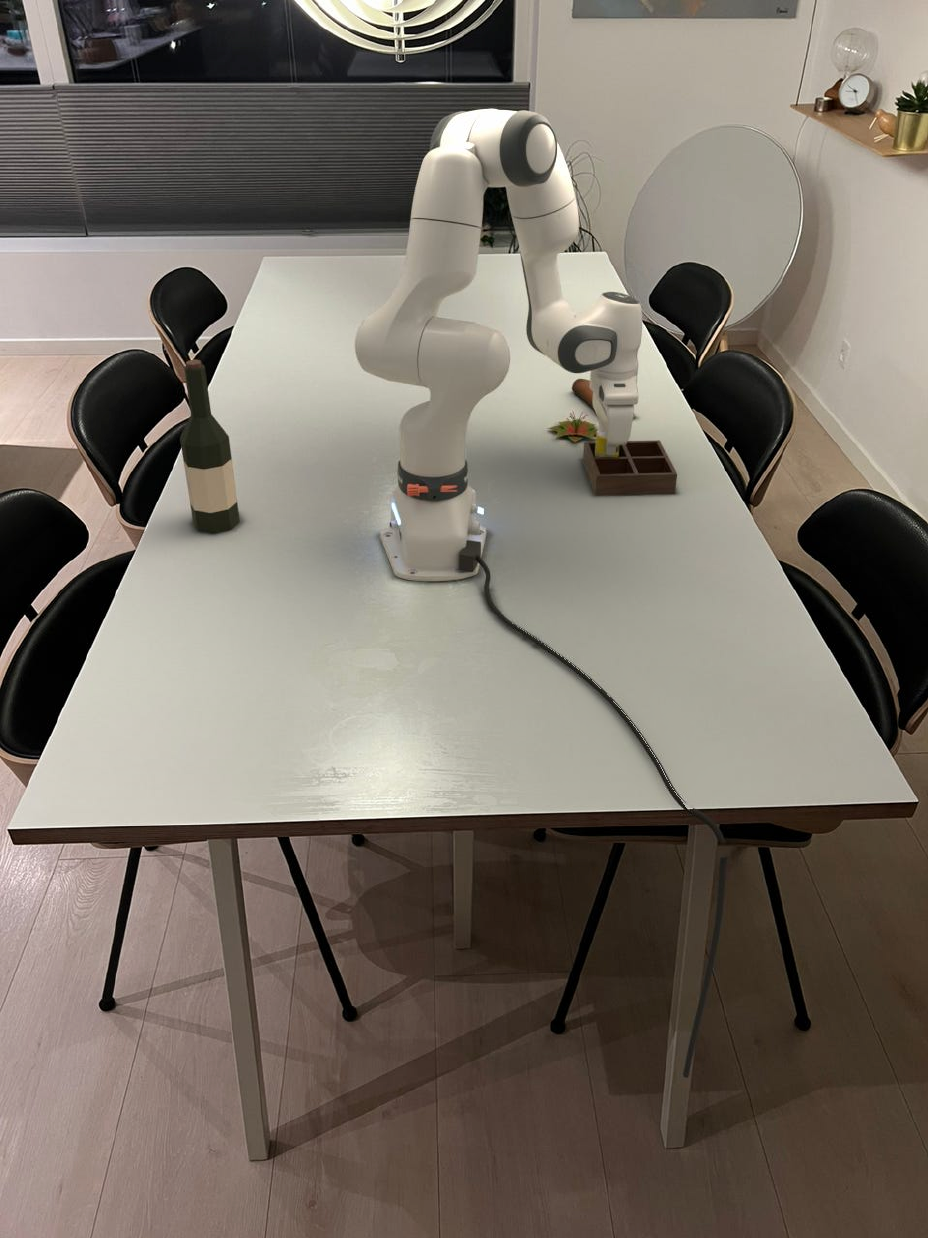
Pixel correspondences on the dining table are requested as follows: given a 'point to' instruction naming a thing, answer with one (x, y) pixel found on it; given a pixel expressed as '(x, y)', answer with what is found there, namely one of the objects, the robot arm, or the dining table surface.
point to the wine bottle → (207, 460)
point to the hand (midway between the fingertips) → (607, 446)
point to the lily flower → (575, 429)
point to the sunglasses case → (584, 391)
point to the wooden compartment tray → (631, 469)
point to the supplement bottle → (603, 444)
